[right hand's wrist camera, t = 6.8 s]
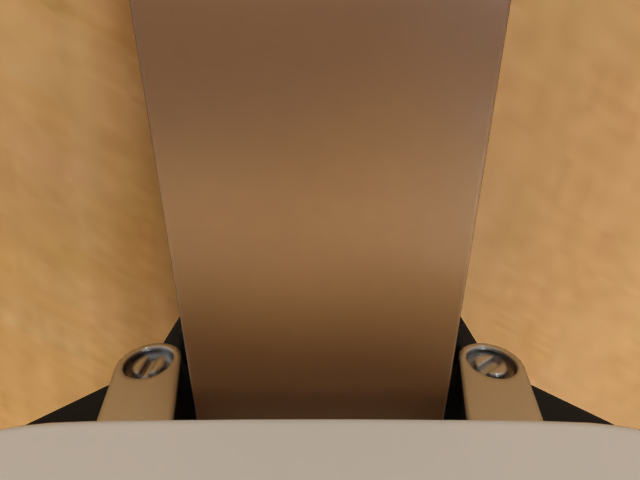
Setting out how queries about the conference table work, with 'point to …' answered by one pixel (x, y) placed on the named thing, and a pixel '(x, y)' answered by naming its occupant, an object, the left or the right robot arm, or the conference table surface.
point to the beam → (320, 194)
